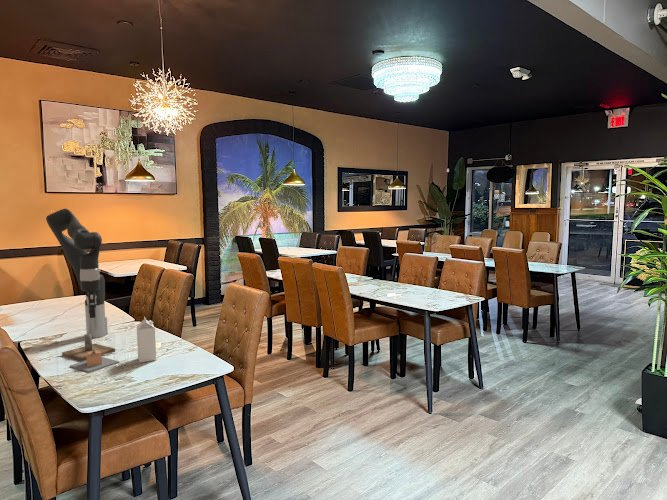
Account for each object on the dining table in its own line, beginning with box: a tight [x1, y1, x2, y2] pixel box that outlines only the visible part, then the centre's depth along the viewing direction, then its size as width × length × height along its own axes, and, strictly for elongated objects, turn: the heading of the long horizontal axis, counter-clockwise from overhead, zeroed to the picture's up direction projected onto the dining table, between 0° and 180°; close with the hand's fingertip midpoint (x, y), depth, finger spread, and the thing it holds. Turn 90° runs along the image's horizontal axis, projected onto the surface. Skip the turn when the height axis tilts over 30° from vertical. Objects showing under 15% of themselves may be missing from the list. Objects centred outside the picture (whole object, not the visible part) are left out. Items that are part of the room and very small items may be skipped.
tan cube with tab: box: [86, 350, 103, 367], centre depth 201 cm, size 6×6×6 cm
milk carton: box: [136, 316, 157, 363], centre depth 207 cm, size 7×7×19 cm
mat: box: [69, 356, 120, 373], centre depth 201 cm, size 14×14×1 cm
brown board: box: [61, 333, 116, 362], centre depth 216 cm, size 16×16×9 cm
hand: (92, 315), depth 199 cm, fingers open, 8 cm apart
